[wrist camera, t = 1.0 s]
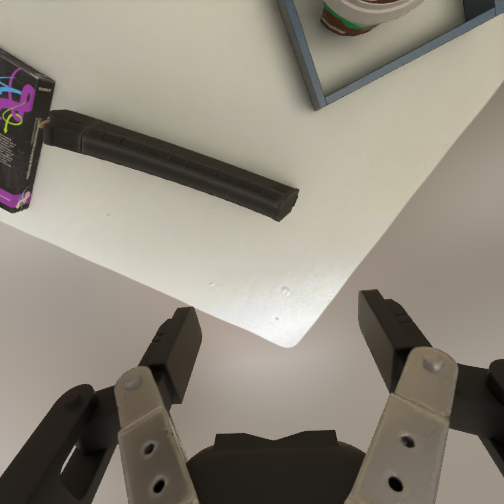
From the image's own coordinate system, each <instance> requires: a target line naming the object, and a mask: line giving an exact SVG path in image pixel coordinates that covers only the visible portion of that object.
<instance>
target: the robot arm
mask: <svg viewBox="0 0 504 504" xmlns="http://www.w3.org/2000/svg"><path fill="white" fill-rule="evenodd" d="M358 300H359V301H358V303H359V304H358V320H359V326H360V329H361V332H362V334H363V336H364V338H365V340H366V343H367V345H368V347H369V349H370V351H371V353H372V356H373V358H374V360H375V362H376V364H377V366H378V369H379V371H380V373H381V375H382V377H383V379H384V382H385V384H386V386H387V388H388V391H389V393H390V396H389V398H388V400H387V403H386V405H385V408H384V411H383V413H382V416H381V418H380V420H379V423H378V426H377V428H376V431H375V433H374V436H373V438H372V441H371V443H370V446H369V448H368V451H367V453H366V454H365V453H364V452H362V451H361V450H359V449H357V448H356V447H354V446H352V445H349V444H346V443H344V442H340V441H337V437H336V432H335V430H324V431H323V430H322V431H304V432H300V433H297V434H294V435H291V436H288V437H284V438H281V439H278V440H269V439H265V438H261V437H257V436H253V435H250V434H246V433H235V434H216V438H215V443H214V445H212V446H210V447H207V448H205V449H203V450H202V451H200V452H199V453H198V454H196V455H195V456H194V457H192V458H191V459H190V460H188V458H187V456H186V453H185V451H184V448H183V445H182V443H181V441H180V438H179V435H178V433H177V430H176V428H175V425H174V422H173V420H172V417H171V415H170V412H169V411H170V408H171V405H172V404H181V403H182V401H183V398H184V395H185V391H186V388H187V385H188V382H189V379H190V376H191V373H192V370H193V367H194V364H195V361H196V357H197V354H198V351H199V348H200V345H201V342H202V332H201V328H200V325H199V321H198V318H197V315H196V312H195V309H194V307H182V308H177V310H176V311H175V313H174V315H173V317H172V319H167V320H166V321H165V322H164V323H163V324H162V325H161V326H160V327H159V329H158V331H157V333H156V336H154V338H153V340H152V343H150V345H149V347H148V349H147V351H146V352H145V354H144V356H143V358H142V360H141V361H140V363H139V365H138V367H135V368H132V369H131V370H129V371H127V372H125V373H124V374H123V375H122V376H121V377H120V378H119V379H118V381H117V382H116V384H115V385H114V386H111V387H108V388H105V389H102V390H99V391H96V392H95V391H94V389H93V387H92V386H91V385H89V384H82V385H79V386H76V387H74V388H72V389H70V390H68V391H67V392H66V393H64V394H63V395H62V396H61V397H60V398H59V399H58V400H57V401H56V402H55V404H54V405H53V406H52V408H51V409H50V411H49V412H48V414H47V415H46V416H45V417H44V419H43V420H42V422H41V423H40V424H39V426H38V427H37V428H36V430H35V431H34V432H33V434H32V435H31V436H30V438H29V439H28V441H27V442H26V443H25V445H24V446H23V447H22V449H21V450H20V451H19V453H18V454H17V455H16V457H15V458H14V460H13V461H12V462H11V464H10V465H9V466H8V468H7V469H6V470H5V472H4V473H3V474H2V476H1V477H0V504H91V503H92V501H93V498H94V496H95V494H96V492H97V489H98V487H99V485H100V482H101V480H102V478H103V476H104V473H105V471H106V469H107V466H108V464H109V462H110V459H111V457H112V455H113V453H114V450H115V448H116V446H117V444H119V448H120V454H121V460H122V466H123V473H124V479H125V484H126V491H127V497H128V503H129V504H435V500H436V495H437V489H438V484H439V478H440V473H441V467H442V462H443V457H444V451H445V446H446V440H447V435H448V429H449V428H451V429H455V430H459V431H462V432H466V433H470V434H474V435H478V436H479V438H480V440H481V441H482V443H483V445H484V446H485V448H486V449H487V451H488V452H489V454H490V456H491V457H492V459H493V461H494V462H495V464H496V465H497V467H498V469H499V470H500V472H501V473H502V475H503V477H504V359H499V360H495V361H493V362H492V363H491V364H490V366H489V369H484V368H478V367H472V366H467V365H462V364H459V363H456V362H455V360H454V359H453V358H452V357H450V356H449V355H448V354H447V353H445V352H443V351H441V350H439V349H436V348H433V347H432V345H431V344H430V343H429V342H428V340H427V339H426V338H425V336H424V335H423V334H422V332H421V331H420V330H419V328H418V327H417V326H416V324H415V323H414V322H413V320H412V319H411V318H410V316H409V315H408V314H407V312H406V311H405V310H404V309H403V307H402V306H401V305H400V304H398V303H397V302H395V301H394V300H392V299H386V300H384V298H383V297H382V295H381V294H380V293H379V291H378V290H377V289H373V290H364V291H363V290H362V291H359V298H358ZM74 445H75V446H76V449H75V450H74V452H73V454H72V456H71V457H70V459H69V461H68V463H67V465H66V466H65V468H64V470H63V472H62V473H61V469H62V466H63V464H64V462H65V461H66V459H67V457H68V455H69V454H70V452H71V450H72V448H73V447H74ZM60 473H61V475H60Z"/></svg>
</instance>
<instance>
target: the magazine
mask: <svg viewBox="0 0 504 504" xmlns="http://www.w3.org/2000/svg"><path fill="white" fill-rule="evenodd" d="M48 117H49V119H47V120H45V121H42V122H41V123H40V124H39V125H38V126H39V127H40V128H43V142H44V144H47V145H50V146H56V147H59V148H63V149H66V150H70V151H73V152H77V153H80V154H84V155H89V156H92V157H96V158H98V159H102V160H106V161H109V162H113V163H115V164H119V165H123V166H126V167H129V168H132V169H135V170H139V171H142V172H145V173H148V174H151V175H155V176H158V177H161V178H163V179H166V180H170V181H173V182H176V183H179V184H181V185H184V186H188V187H191V188H193V189H195V190H198V191H202V192H205V193H208V194H209V195H213V196H216V197H219V198H222V199H224V200H226V201H230V202H232V203H235V204H238V205H240V206H243V207H246V208H248V209H251V210H253V211H255V212H258V213H261V214H263V215H265V216H268V217H270V218H272V219H273V220H275V221H278V222H280V221H281V220H282V219H283V218H284V217H285V216H286V215H288V214H289V213H290V212H291V210H292V207H294V205H295V203H296V200H297V198H298V196H297V195H298V193H299V189H297V188H296V189H294V188H291V187H289V186H286V185H283V184H281V183H278V182H275V181H273V180H270V179H267V178H265V177H262V176H260V175H257V174H254V173H252V172H249V171H246V170H244V169H241V168H238V167H235V166H233V165H230V164H227V163H225V162H222V161H219V160H216V159H213V158H211V157H208V156H205V155H202V154H199V153H197V152H194V151H191V150H188V149H185V148H182V147H179V146H176V145H174V144H171V143H168V142H165V141H162V140H159V139H156V138H153V137H150V136H147V135H144V134H141V133H137V132H134V131H131V130H128V129H125V128H122V127H119V126H116V125H113V124H110V123H107V122H104V121H102V120H99V119H95V118H92V117H89V116H86V115H83V114H79V113H76V112H73V111H69V110H51V111H50V112H49V114H48Z"/></svg>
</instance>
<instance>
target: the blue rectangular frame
mask: <svg viewBox="0 0 504 504" xmlns="http://www.w3.org/2000/svg"><path fill="white" fill-rule="evenodd" d="M463 2H464V10H465V17H466V22H465V23H464V24H462V25H460V26H458V27H456V28H454V29H452V30H450V31H449V32H447V33H445V34H443V35H441V36H439V37H437V38H435V39H434V40H432V41H430V42H428V43H426V44H424V45H422V46H420V47H419V48H417V49H415V50H413V51H411V52H409V53H407V54H405V55H404V56H402V57H400V58H398V59H396V60H394V61H392V62H390V63H389V64H387V65H385V66H383V67H381V68H379V69H377V70H375V71H374V72H372V73H370V74H368V75H366V76H364V77H362V78H360V79H359V80H357V81H355V82H353V83H351V84H349V85H347V86H345V87H344V88H342V89H340V90H338V91H336V92H334V93H332V94H330V95H329V96H327V97H324V94H323V91H322V88H321V85H320V81H319V78H318V75H317V72H316V69H315V66H314V63H313V60H312V57H311V54H310V51H309V48H308V45H307V42H306V39H305V36H304V32H303V29H302V26H301V23H300V20H299V17H298V14H297V11H296V8H295V5H294V2H293V0H277V3H278V6H279V9H280V12H281V15H282V18H283V21H284V24H285V26H286V29H287V32H288V35H289V38H290V41H291V44H292V47H293V50H294V52H295V55H296V58H297V61H298V64H299V67H300V70H301V73H302V76H303V78H304V81H305V84H306V87H307V90H308V93H309V96H310V99H311V102H312V105H313V107H314V110H315V111H317V110H319V109H321V108H323V107H325V106H326V105H328V104H330V103H332V102H334V101H336V100H338V99H340V98H342V97H344V96H345V95H347V94H349V93H351V92H353V91H355V90H357V89H359V88H361V87H363V86H365V85H366V84H368V83H370V82H372V81H374V80H376V79H378V78H380V77H382V76H384V75H385V74H387V73H389V72H391V71H393V70H395V69H397V68H399V67H401V66H403V65H405V64H406V63H408V62H410V61H412V60H414V59H416V58H418V57H420V56H422V55H424V54H426V53H427V52H429V51H431V50H433V49H435V48H437V47H439V46H441V45H443V44H445V43H446V42H448V41H450V40H452V39H454V38H456V37H458V36H460V35H462V34H464V33H466V32H467V31H469V30H471V29H473V28H475V27H477V26H479V25H481V24H483V23H485V22H486V21H488V20H490V19H492V18H494V17H496V16H498V15H500V14H502V13H504V0H463Z"/></svg>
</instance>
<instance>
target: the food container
mask: <svg viewBox="0 0 504 504" xmlns="http://www.w3.org/2000/svg"><path fill="white" fill-rule="evenodd" d="M323 1H324V2H325V3H326V4H325V7H324V10H323V14H322V17H321V20H320V21H321V22H322V23H323V24H324V25H325V26H326V27H327V28H328V29H330V30H331V31H333V32H335V33H337V34H339V35H345V36H356V35H360V34H363V33H366V32H368V31H370V30H371V29H373V28H374V27H376V26H377V25H379V24H380V23H385V22H388V21H391V20H394V19H396V18H398V17H400V16H402V15H404V14H406V13H408V12H409V11H411V10H412V9H414V8H415V7H416V6H418V5H419V4H420V3H421V2H423V1H424V0H323Z"/></svg>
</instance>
